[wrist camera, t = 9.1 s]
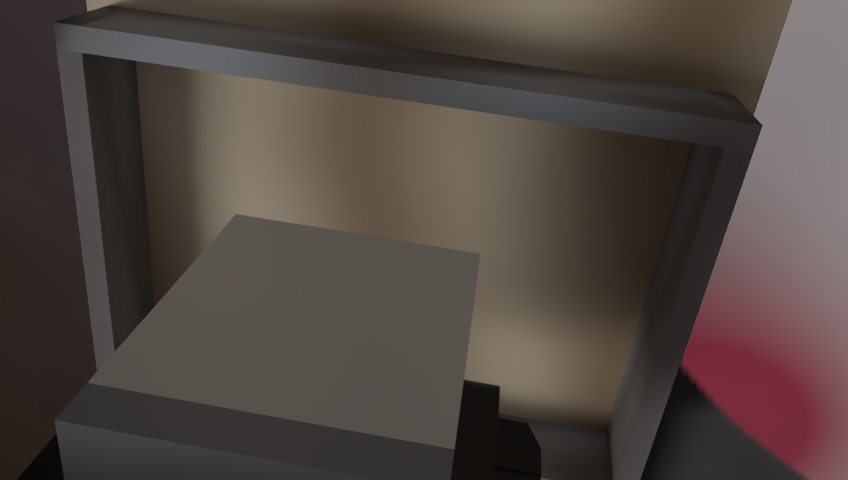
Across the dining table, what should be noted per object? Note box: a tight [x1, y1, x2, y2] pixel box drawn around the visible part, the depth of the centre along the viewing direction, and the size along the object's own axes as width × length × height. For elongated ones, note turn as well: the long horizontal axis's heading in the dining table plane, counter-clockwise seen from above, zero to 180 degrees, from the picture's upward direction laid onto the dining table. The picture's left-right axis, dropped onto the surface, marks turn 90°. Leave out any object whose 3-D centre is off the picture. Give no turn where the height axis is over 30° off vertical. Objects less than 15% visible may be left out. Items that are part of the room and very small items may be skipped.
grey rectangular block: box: [55, 214, 480, 480], centre depth 11 cm, size 4×6×5 cm
